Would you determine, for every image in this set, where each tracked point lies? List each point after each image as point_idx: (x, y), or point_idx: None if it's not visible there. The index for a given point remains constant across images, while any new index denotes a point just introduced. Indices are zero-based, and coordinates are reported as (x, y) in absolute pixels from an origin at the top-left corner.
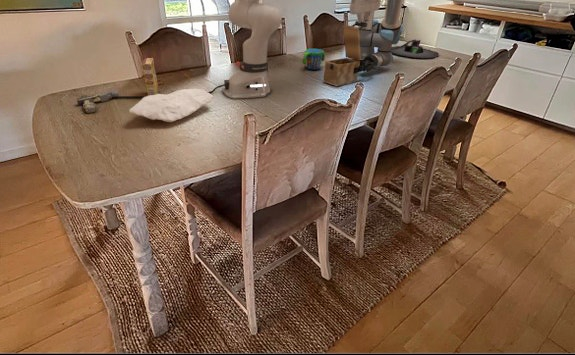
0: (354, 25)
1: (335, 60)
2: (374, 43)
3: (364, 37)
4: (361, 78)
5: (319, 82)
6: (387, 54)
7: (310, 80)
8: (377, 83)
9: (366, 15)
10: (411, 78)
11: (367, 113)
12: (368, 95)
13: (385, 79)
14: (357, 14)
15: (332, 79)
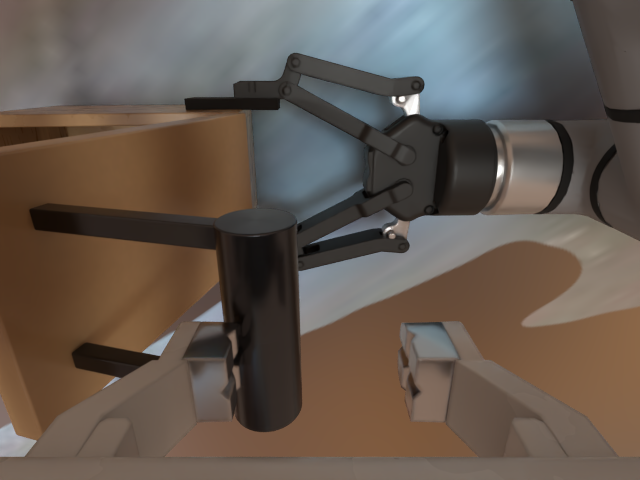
0: (177, 241)
1: (89, 125)
2: (617, 144)
3: (629, 34)
4: (323, 185)
5: (45, 86)
6: (601, 222)
7: (10, 18)
8: (324, 282)
9: (482, 382)
10: (525, 325)
11: (19, 446)
12: (155, 352)
13: (413, 267)
14: (46, 453)
15: None
